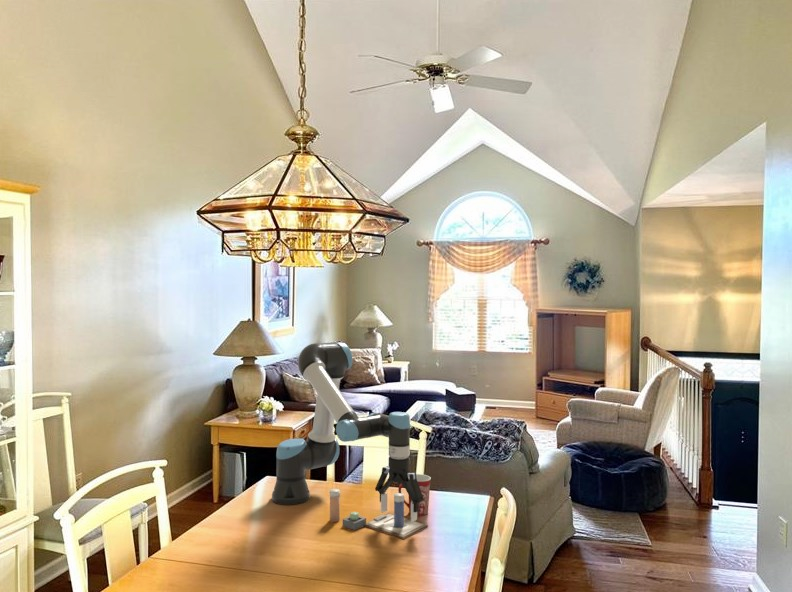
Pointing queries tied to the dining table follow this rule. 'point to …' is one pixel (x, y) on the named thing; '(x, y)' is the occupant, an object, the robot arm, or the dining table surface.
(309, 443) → the robot arm
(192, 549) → the dining table surface
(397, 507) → the blue bottle
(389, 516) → the clipboard
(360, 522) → the button housing
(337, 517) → the pale pink bottle
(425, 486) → the mug
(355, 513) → the button
